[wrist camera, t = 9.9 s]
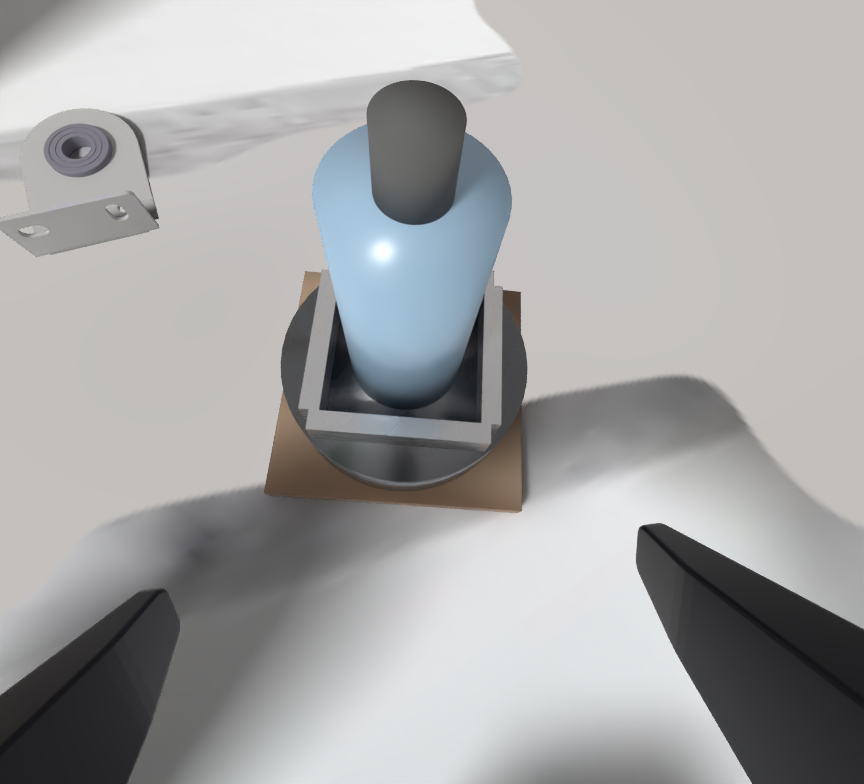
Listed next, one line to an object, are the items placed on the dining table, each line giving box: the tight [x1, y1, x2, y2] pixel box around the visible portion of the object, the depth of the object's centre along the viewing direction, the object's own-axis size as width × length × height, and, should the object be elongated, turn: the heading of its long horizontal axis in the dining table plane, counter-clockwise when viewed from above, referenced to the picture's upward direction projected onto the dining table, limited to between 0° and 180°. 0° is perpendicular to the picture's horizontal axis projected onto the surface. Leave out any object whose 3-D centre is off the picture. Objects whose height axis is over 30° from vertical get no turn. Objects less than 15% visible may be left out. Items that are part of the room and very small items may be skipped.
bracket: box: [0, 109, 159, 257], centre depth 26 cm, size 7×10×4 cm, turn 21°
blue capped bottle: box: [312, 80, 512, 410], centre depth 15 cm, size 5×5×12 cm
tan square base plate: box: [264, 270, 527, 513], centre depth 22 cm, size 12×12×6 cm
